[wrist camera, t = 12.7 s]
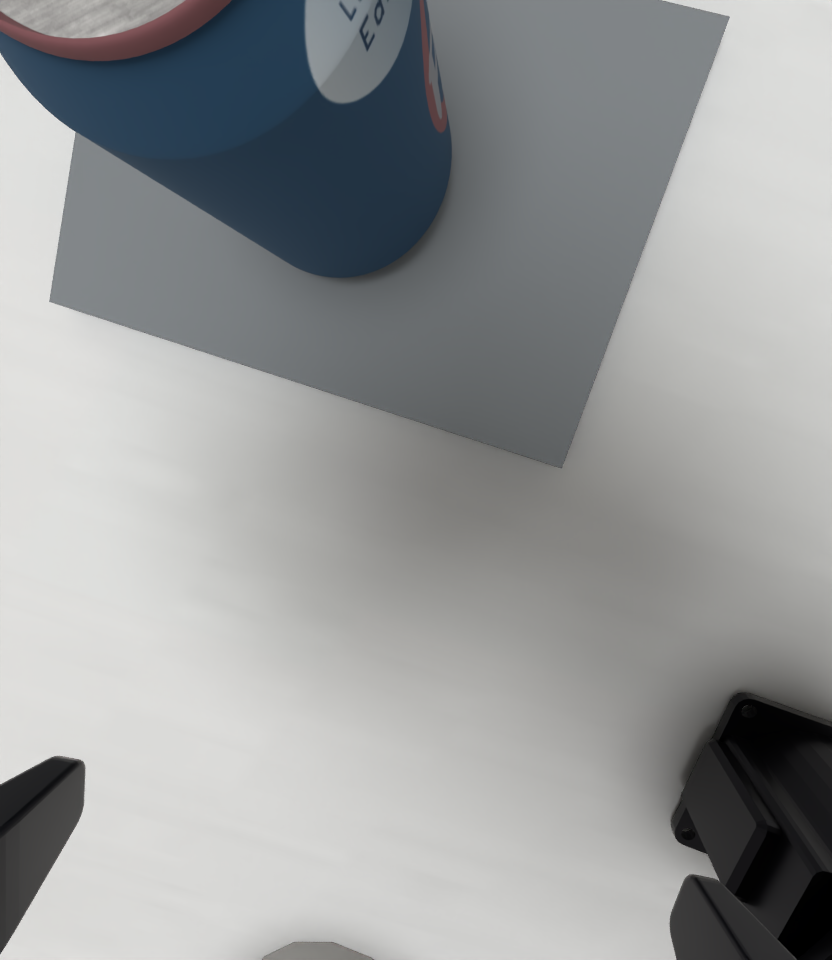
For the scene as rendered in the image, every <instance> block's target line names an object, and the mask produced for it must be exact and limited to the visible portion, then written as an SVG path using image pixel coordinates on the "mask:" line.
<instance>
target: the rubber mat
mask: <svg viewBox="0 0 832 960" xmlns="http://www.w3.org/2000/svg"><path fill="white" fill-rule="evenodd" d="M426 1H427V6H428V11H429V17H430V22H431V28H432V33H433V39H434V44H435V50H436V55H437V60H438V66H439V71H440V77H441V82H442V88H443V93H444V98H445V104H446V109H447V115H448V120H449V126H450V132H451V142H452V160H451V170H450V177H449V181H448V186H447V189H446V193H445V196H444V199H443V201H442V204H441V206H440V208H439V211H438V213H437V215H436V216H435V218H434V220H433V222H432V223H431V225H430V226H429V228H428V230H427V231H426V232H425V233H424V235H423V236H422V237H421V238H420V240H419V241H418V242H417V243H416V244H415V245H414V246H413V247H412V248H411V249H410V250H409V251H408V252H406V253H405V254H404V255H403V256H401V257H400V258H399V259H397V260H396V261H394V262H393V263H391V264H389V265H387V266H385V267H383V268H381V269H379V270H377V271H374V272H371V273H368V274H365V275H360V276H356V277H348V278H331V277H324V276H319V275H314V274H311V273H308V272H305V271H303V270H300V269H298V268H296V267H294V266H292V265H290V264H289V263H287V262H285V261H284V260H282V259H281V258H279V257H277V256H276V255H274V254H272V253H271V252H269V251H268V250H266V249H264V248H263V247H261V246H260V245H258V244H256V243H255V242H253V241H251V240H250V239H248V238H247V237H245V236H243V235H242V234H240V233H239V232H237V231H235V230H234V229H232V228H231V227H229V226H227V225H226V224H224V223H222V222H221V221H219V220H218V219H216V218H214V217H213V216H211V215H210V214H208V213H206V212H205V211H203V210H201V209H200V208H198V207H197V206H195V205H193V204H192V203H190V202H189V201H187V200H185V199H184V198H182V197H180V196H179V195H177V194H176V193H174V192H172V191H171V190H169V189H168V188H166V187H164V186H163V185H161V184H159V183H158V182H156V181H155V180H153V179H151V178H150V177H148V176H147V175H145V174H143V173H142V172H140V171H138V170H137V169H135V168H134V167H132V166H130V165H129V164H127V163H126V162H124V161H122V160H121V159H119V158H117V157H116V156H114V155H113V154H111V153H109V152H108V151H106V150H105V149H103V148H101V147H100V146H98V145H96V144H95V143H93V142H92V141H90V140H88V139H87V138H85V137H84V136H82V135H80V134H79V133H77V132H76V134H75V140H74V146H73V153H72V159H71V166H70V172H69V179H68V185H67V191H66V198H65V204H64V211H63V217H62V223H61V230H60V236H59V243H58V249H57V256H56V262H55V268H54V275H53V281H52V288H51V294H50V301H49V302H52V303H55V304H58V305H61V306H64V307H67V308H70V309H73V310H76V311H79V312H82V313H86V314H89V315H92V316H95V317H98V318H101V319H104V320H107V321H110V322H113V323H116V324H119V325H122V326H125V327H129V328H132V329H135V330H138V331H141V332H144V333H147V334H150V335H153V336H156V337H159V338H162V339H165V340H169V341H172V342H175V343H178V344H181V345H184V346H187V347H190V348H193V349H196V350H199V351H202V352H205V353H208V354H212V355H215V356H218V357H221V358H224V359H227V360H230V361H233V362H236V363H239V364H242V365H245V366H248V367H252V368H255V369H258V370H261V371H264V372H267V373H270V374H273V375H276V376H279V377H282V378H285V379H288V380H291V381H295V382H298V383H301V384H304V385H307V386H310V387H313V388H316V389H319V390H322V391H325V392H328V393H331V394H335V395H338V396H341V397H344V398H347V399H350V400H353V401H356V402H359V403H362V404H365V405H368V406H371V407H375V408H378V409H381V410H384V411H387V412H390V413H393V414H396V415H399V416H402V417H405V418H408V419H411V420H414V421H418V422H421V423H424V424H427V425H430V426H433V427H436V428H439V429H442V430H445V431H448V432H451V433H454V434H458V435H461V436H464V437H467V438H470V439H473V440H476V441H479V442H482V443H485V444H488V445H491V446H494V447H497V448H501V449H504V450H507V451H510V452H513V453H516V454H519V455H522V456H525V457H528V458H531V459H534V460H537V461H541V462H544V463H547V464H550V465H553V466H556V467H559V468H562V466H563V464H564V461H565V458H566V455H567V453H568V450H569V447H570V445H571V442H572V439H573V437H574V434H575V431H576V429H577V426H578V423H579V421H580V418H581V415H582V412H583V410H584V407H585V404H586V402H587V399H588V396H589V394H590V391H591V388H592V386H593V383H594V380H595V378H596V375H597V372H598V370H599V367H600V364H601V361H602V359H603V356H604V353H605V351H606V348H607V345H608V343H609V340H610V337H611V335H612V332H613V329H614V327H615V324H616V321H617V319H618V316H619V313H620V310H621V308H622V305H623V302H624V300H625V297H626V294H627V292H628V289H629V286H630V284H631V281H632V278H633V276H634V273H635V270H636V267H637V265H638V262H639V259H640V257H641V254H642V251H643V249H644V246H645V243H646V241H647V238H648V235H649V233H650V230H651V227H652V225H653V222H654V219H655V216H656V214H657V211H658V208H659V206H660V203H661V200H662V198H663V195H664V192H665V190H666V187H667V184H668V182H669V179H670V176H671V174H672V171H673V168H674V165H675V163H676V160H677V157H678V155H679V152H680V149H681V147H682V144H683V141H684V139H685V136H686V133H687V131H688V128H689V125H690V122H691V120H692V117H693V114H694V112H695V109H696V106H697V104H698V101H699V98H700V96H701V93H702V90H703V88H704V85H705V82H706V80H707V77H708V74H709V71H710V69H711V66H712V63H713V61H714V58H715V55H716V53H717V50H718V47H719V45H720V42H721V39H722V37H723V34H724V31H725V29H726V26H727V23H728V20H729V18H730V17H729V16H725V15H721V14H716V13H712V12H708V11H704V10H700V9H695V8H691V7H687V6H683V5H679V4H674V3H670V2H666V1H662V0H426Z"/></svg>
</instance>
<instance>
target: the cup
mask: <svg viewBox="0 0 832 960" xmlns="http://www.w3.org/2000/svg"><path fill="white" fill-rule="evenodd" d="M262 960H373V959H372V958H371V957H368V956H366V955H363V954H361V953H358V952H356V951H353V950H351V949H348V948H346V947H343V946H341V945H338V944H336V943H333V942H293V943H291V944H289V945H287V946H285V947H283V948H281V949H279V950H277V951H275V952H273V953H271V954H269V955H266V956H264V958H263V959H262Z"/></svg>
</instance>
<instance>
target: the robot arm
mask: <svg viewBox="0 0 832 960" xmlns="http://www.w3.org/2000/svg"><path fill="white" fill-rule="evenodd" d="M747 705H752V706H751V708H750V710H748V711H745V712H744V711H742V708H743V707H744V706H747ZM84 790H85V764H84V762H83V761H81V760H79V759H74V758H69V757H63V756H54V757H51V758H49V759H47V760H45V761H43V762H41V763H40V764H38V765H36V766H34V767H32V768H30V769H28V770H26V771H25V772H23V773H21V774H19V775H17V776H15V777H13V778H12V779H10V780H8V781H6V782H4V783H2V784H0V954H1V952H2V951H3V949H4V948H5V946H6V944H7V943H8V941H9V940H10V938H11V936H12V935H13V933H14V931H15V930H16V928H17V926H18V925H19V923H20V921H21V920H22V918H23V916H24V914H25V913H26V911H27V909H28V908H29V906H30V904H31V902H32V901H33V899H34V897H35V896H36V894H37V892H38V890H39V889H40V887H41V885H42V883H43V882H44V880H45V878H46V877H47V875H48V873H49V871H50V870H51V868H52V866H53V865H54V863H55V861H56V859H57V858H58V856H59V854H60V853H61V851H62V849H63V847H64V846H65V844H66V842H67V840H68V839H69V837H70V835H71V834H72V832H73V830H74V828H75V827H76V825H77V823H78V821H79V819H80V817H81V814H82V811H83V806H84ZM681 796H682V801H681V803H680V805H679V807H678V809H677V812H676V814H675V816H674V818H673V820H672V823H671V827H672V831H673V833H674V836H675V838H676V839H677V841H678V842H679V843H681V844H683V845H685V846H688V847H690V848H693V849H696V850H698V851H701V852H703V853H706V854H708V856H709V858H710V860H711V863H712V865H713V867H714V869H715V871H716V874H717V876H718V878H719V880H720V882H719V881H718V880H716V879H714V878H710V877H704V876H699V875H694V874H691V875H688V876H687V877H686V878H685V879H684V881H683V884H682V886H681V889H680V891H679V894H678V897H677V899H676V902H675V904H674V907H673V909H672V912H671V916H670V933H671V938H672V942H673V947H674V951H675V955H676V959H677V960H832V722H829V721H826V720H824V719H821V718H818V717H815V716H812V715H809V714H807V713H804V712H801V711H798V710H795V709H793V708H790V707H787V706H784V705H781V704H778V703H776V702H773V701H770V700H767V699H764V698H761V697H759V696H756V695H753V694H750V693H738V694H737V695H735V696H733V698H732V699H731V700H730V702H729V704H728V707H727V709H726V711H725V713H724V715H723V717H722V719H721V721H720V723H719V725H718V727H717V729H716V731H715V733H714V735H713V737H712V739H711V740H710V741H708V742H707V743H706V744H705V747H704V749H703V751H702V753H701V755H700V757H699V759H698V761H697V763H696V765H695V767H694V769H693V771H692V773H691V775H690V778H689V780H688V782H687V784H686V786H685V788H684V790H683V792H682V795H681ZM686 828H690V830H689V831H686V832H684V831H683V830H684V829H686Z"/></svg>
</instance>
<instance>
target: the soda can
mask: <svg viewBox="0 0 832 960" xmlns="http://www.w3.org/2000/svg"><path fill="white" fill-rule="evenodd" d="M0 53H1V55H2V56H3V58H4V59H5V61H6V62H7V64H8V65H9V66H10V68H11V69H12V71H13V72H14V73H15V75H16V76H17V77H18V79H19V80H20V81H21V83H22V84H23V85H24V86H25V87H26V88H27V90H28V91H29V92H30V93H31V94H32V95H33V96H34V97H35V98H36V99H37V100H38V101H39V102H40V103H41V104H42V105H43V106H44V107H45V108H46V109H47V110H48V111H49V112H50V113H51V114H53V115H54V116H55V117H56V118H57V119H58V120H60V121H61V122H63V123H64V124H65V125H67V126H68V127H69V128H71V129H72V130H74V131H75V132H77V133H79V134H80V135H82V136H84V137H85V138H87V139H88V140H90V141H92V142H93V143H95V144H96V145H98V146H100V147H101V148H103V149H105V150H106V151H108V152H109V153H111V154H113V155H114V156H116V157H117V158H119V159H121V160H122V161H124V162H126V163H127V164H129V165H130V166H132V167H134V168H135V169H137V170H138V171H140V172H142V173H143V174H145V175H147V176H148V177H150V178H151V179H153V180H155V181H156V182H158V183H159V184H161V185H163V186H164V187H166V188H168V189H169V190H171V191H172V192H174V193H176V194H177V195H179V196H180V197H182V198H184V199H185V200H187V201H189V202H190V203H192V204H193V205H195V206H197V207H198V208H200V209H201V210H203V211H205V212H206V213H208V214H210V215H211V216H213V217H214V218H216V219H218V220H219V221H221V222H222V223H224V224H226V225H227V226H229V227H231V228H232V229H234V230H235V231H237V232H239V233H240V234H242V235H243V236H245V237H247V238H248V239H250V240H251V241H253V242H255V243H256V244H258V245H260V246H261V247H263V248H264V249H266V250H268V251H269V252H271V253H272V254H274V255H276V256H277V257H279V258H281V259H282V260H284V261H285V262H287V263H289V264H290V265H292V266H294V267H296V268H298V269H300V270H303V271H305V272H308V273H311V274H314V275H319V276H324V277H331V278H348V277H356V276H360V275H365V274H368V273H371V272H374V271H377V270H379V269H381V268H383V267H385V266H387V265H389V264H391V263H393V262H394V261H396V260H397V259H399V258H400V257H401V256H403V255H404V254H405V253H406V252H408V251H409V250H410V249H411V248H412V247H413V246H414V245H415V244H416V243H417V242H418V241H419V240H420V238H421V237H422V236H423V235H424V233H425V232H426V231H427V230H428V228H429V226H430V225H431V223H432V222H433V220H434V218H435V216H436V215H437V213H438V211H439V208H440V206H441V204H442V201H443V199H444V196H445V193H446V189H447V186H448V181H449V177H450V170H451V160H452V142H451V132H450V126H449V120H448V115H447V109H446V104H445V98H444V93H443V88H442V82H441V77H440V71H439V66H438V60H437V55H436V50H435V44H434V39H433V33H432V28H431V22H430V17H429V11H428V6H427V1H426V0H0Z"/></svg>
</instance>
